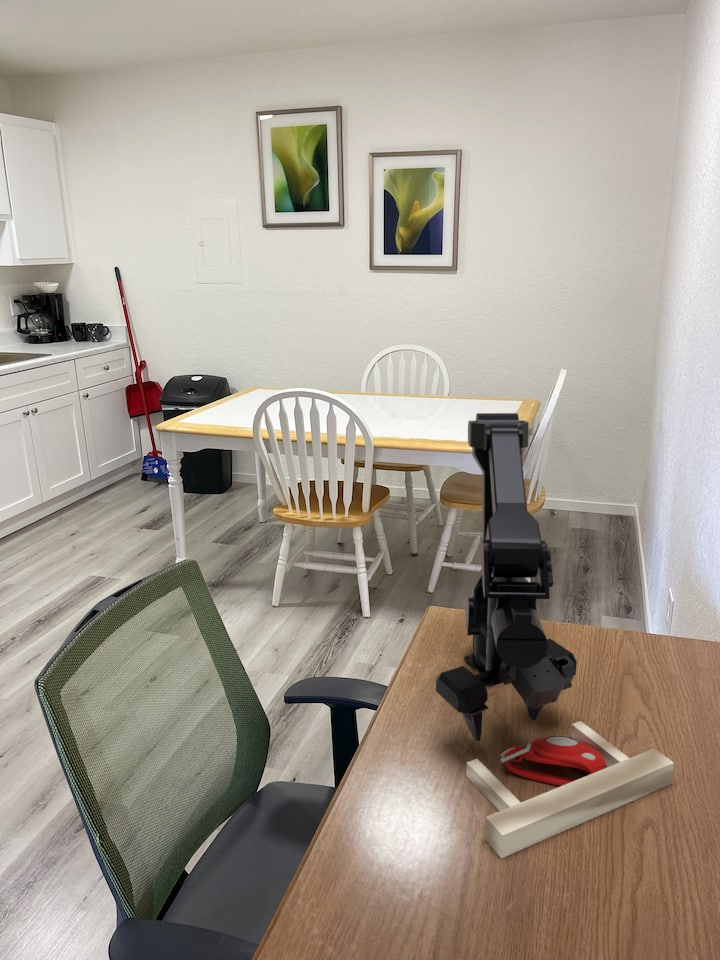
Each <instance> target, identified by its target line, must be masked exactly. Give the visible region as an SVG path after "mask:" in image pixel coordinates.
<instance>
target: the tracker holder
mask: <svg viewBox="0 0 720 960" xmlns="http://www.w3.org/2000/svg"><path fill="white" fill-rule="evenodd" d="M500 756H501V758H500V763H504V765H505V767H506V768H507V769H508V770H509V771H510V772H512V773H513V774H515V775H518V776H520V777H523V778H526V779H530V780H533V781H537V782H540V783H545V784H549V785H554V786H558V787H561V786H563V785H566V784H568V783H570V782H573V781H575V780H576V779H573V778H570V777H565V776H560V775H556V774H551V773H545V772H541V771H536V770H531V769H528V768H526V767H525V768H524V767H522V766H520V765H517V764H515V763H521V762H522V760H523V758H524V759H526V760H527V761H531V762H535V763H538V764H544V765H545V764H546V765H554V766H562V767H569V768H573V769H574V768H575V769H579V770H582V771H585V772H587V773H588V775H590V774H593V773H595V772H597V771H600V770H602V769H605V768H607V766H606V763H605V759H604V757H603V756H602V755H601V754H600V753H599V752H598V751H597V750H595V749H594V748H592V747H591V746H589V745H587V744H585V743H582V742H579V741H577V740H575V739H573V738H571V737H567V736H563V735H562V736H561V735H555V736H554V735H553V736H546V737H544V738H538V739H535V740H533V741H531V742H528V743H526V744H524V745H517V744H516V745H512V746H510V747H508V748H507V749H506V750H504V751H503V752H502V753H500ZM513 761H514V762H515V763H513Z"/></svg>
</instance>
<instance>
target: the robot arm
mask: <svg viewBox="0 0 720 960" xmlns="http://www.w3.org/2000/svg"><path fill="white" fill-rule="evenodd" d="M529 427H530V423H529V421H528V420H527V421H526V420H520V419H519V414H518V413H517V412H508V413H507V412H506V413H505V412H491V413H489V412H485V413H484V412H483V413H482V412H481V413H479V412H478V413H476V416H475V420H468V423H467V443H468V446H469V447H470V448H471V454H472V457H473V458H474V461H475V462H476V464H477V465H478V467H479V469H480V471H481V473H482V474H481V475H482V478H481V479H482V483H481V485H482V487H481V489H482V491H481V492H482V495H481V496H482V497H481V498H482V500H481V501H482V503H481V504H482V506H481V510H482V511H481V514H482V515H481V517H482V518H481V519H482V521H481V522H482V523H481V526H482V527H481V529H482V530H481V534H482V535H481V544H480V547H481V548H480V561H481V569H480V571H479V572H478V574H477V576H476V577H475V579H474V581H472V583H471V596H470V597H469V596H467V600H466V603H465V611H464V612H465V621H464V622H465V627H466V634H467V636H472V654H469V655H465V656H464V661H465V662H466V663H467V665H469V666H471V668H473V669H474V670H475V671H476V672H478V673H477V674H474V673H473V672H471V671H470V670H469V669H467V667H466V666H464V665H462V666H459V667H455V668H451V669H449V670H445V671H443V672H441V673H438V675H437V676H436V679H435V692H437V693H438V695H439V696H440V697H442V698H443V699H444V700H445V701H446V702H447V703H448V704H449V705H450V706H451V707H452V708H453V709H455V711H456V712H457V713H460V714H462V716H463V718H464V721H465V722H466V725H467V727H468V729H469V732H470V733H471V736H472V738H473V739H474V740H475V741H476V742H480V741H481V737H482V729H483V727H482V726H483V712H485V711H487V710H488V709H489V706H488V705H486V703H487V702H488V698H489V697H488V696H489V694H488V691H489V690H492V689H494V688H497V687H500V686H503V685H505V686H506V685H509V684H511V685H512V687H513V688H514V689H515V690H516V692H517V693H518V695H519V696H520V697H521V698H522V700H523V703H524V704H525V706H526V708H527V713H528V717H529V719H530V720H532V721H533V722H534V721H536V720H537V719H538V717H539V715H540V714H541V711H542V709H543V707H544V705H547V704H550V703H551V704H553V703H555V702H557V701H558V700H559V697H560V696H561V693H562V692H563V691H565V690H568V689H570V688H572V686H573V685H572V680H573V679H574V677H575V676H576V675H577V664H578V662H577V659H576V656H575V654H574V653H573V652H572V651H570V650H568V649H566V648H565V647H564V646H562V645H561V644H560V643H558V642H556V641H554V640H553V639H551V638H547V636H546V634H545V629H544V628H543V625H542V622H541V618H540V615H539V612H538V609H537V600H541V599H542V600H550V588H553V585H554V578H553V577H554V576H553V567H552V566H553V565H552V557H551V556H552V555H551V549H550V548H548V542H546V539H545V540H542V536H541V529H540V524H539V521H538V520H537V519H536V518H535V517H534V516H533V515H532V514H531V513H530V512H529V510H528V508H527V498H526V488H525V478H524V469H523V468H524V467H523V457H522V453H523V449H525V448H528V447H529V431H530V430H529ZM538 570H539V572H538ZM538 573H539V579H540V582H539V581H529V580H527V579H528V578H529V579H535V578H537V576H538Z"/></svg>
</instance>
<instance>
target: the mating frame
mask: <svg viewBox="0 0 720 960" xmlns="http://www.w3.org/2000/svg"><path fill="white" fill-rule="evenodd" d="M570 738H572V739H575V740H577V741H579V742H582V743H585V744H587V745H589V746H591V747H592V748H594V749H595V750H597V751H598V752H599V753H600V754H601V755H602V756H603V757H604V759H605V763H606V768H605V769H602V770H600V771H597V772H595V773H593V774H588V775H586V776H583V777H581V778H578V779H575V781H573V782H570V783H568V784H566V785H563V786H558V787H556V788H553V789H551V790H549V791H548V790H547V792H544V793H541V794H538V795H536V796H534V797H531V798H529V799H527V800H524V801H520V800H519V799H518V798H517V797H516V796H515V795H514V793H512V792H511V791H510V790H509V789H508V787H506V786H505V785H504V784H503V783H502V782H501V781H500V780H499V779H498V778H497V777H496V776H495V775H494V774H493V773H492V772H491V771H490V770H489V769H488V768H487V767H486V766H485V765H484V764H483V763H482V762H481V761H480V760H479V759H478V758H475V759H472V760H470V761H467V762H466V771H465V773H466V777H467V778H468V780H469V781H470V782H471V783H472V784H473V785H474V786H475V787H476V788H477V790H479V791H480V793H482V794H483V795H484V797H486V798H487V800H488V801H489V802H490V803H491V804H492V805H493V806H494V807H495V808H496V810H498V812H497V811H496V812H494V813H492V814H489V815H488V816H485V823H484V824H485V826H484V827H485V828H484V841H486V843H487V844H488V845H489V846H490V847H491V848H492V849H493V851H494V852H495V853H496V854H497V855H498V857H499V858H500V859H504V858H506V857H508V856H511V855H513V854H515V853H517V852H519V851H522V850H524V849H526V848H529V847H531V846H533V845H536V844H538V843H539V842H542V841H544V840H547V839H550V838H552V837H554V836H556V835H558V834H561V833H563V832H565V831H567V830H569V829H572V828H574V827H576V826H579V825H581V824H583V823H585V822H588V821H590V820H593V819H595V818H597V817H600V816H603V815H604V814H605V813H608V812H610V811H613V810H615V809H617V808H619V807H622V806H625V805H626V804H629V803H631V802H633V801H636V800H638V799H640V798H642V797H645V796H647V795H650V794H651V793H654V792H655V791H659V790H660V789H663V788H665V787H668V786H670V785H672V781H673V775H674V766H675V762H674V761H673V760H672V759H670V758H668V757H667V756H665V755H664V754H663V753H661V752H660V751H658V750H657V749H656V748H652V749H649V750H646V751H645V752H642V753H639V754H637V755H635V756H634V755H633V756H632V757H629V756H628V755H626V754H625V753H623V752H622V751H621V750H619V749H618V748H617V747H615V746H614V745H613V744H612V743H610V742H609V741H607V740H606V739H605V738H604V737H602V736H601V735H600V734H599V733H597V732H596V731H595V730H594V729H592V728H590V727H589V726H588V725H587V724H586V723H584V722H582V721H581V720H580V721H576V722H574V723H572V724H571V730H570Z"/></svg>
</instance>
